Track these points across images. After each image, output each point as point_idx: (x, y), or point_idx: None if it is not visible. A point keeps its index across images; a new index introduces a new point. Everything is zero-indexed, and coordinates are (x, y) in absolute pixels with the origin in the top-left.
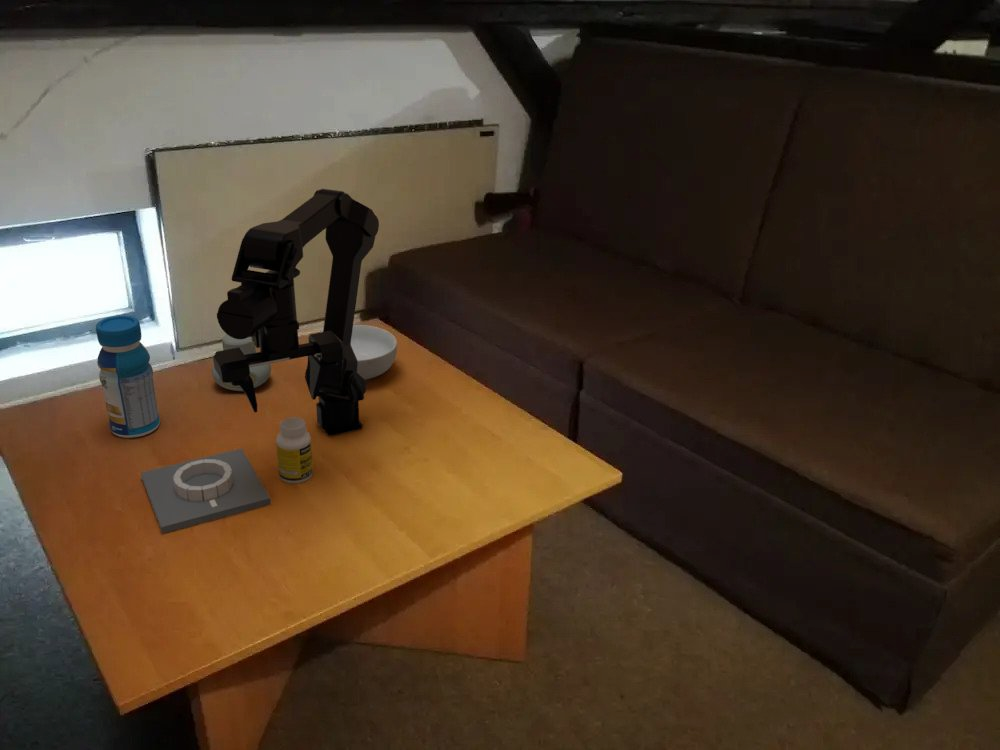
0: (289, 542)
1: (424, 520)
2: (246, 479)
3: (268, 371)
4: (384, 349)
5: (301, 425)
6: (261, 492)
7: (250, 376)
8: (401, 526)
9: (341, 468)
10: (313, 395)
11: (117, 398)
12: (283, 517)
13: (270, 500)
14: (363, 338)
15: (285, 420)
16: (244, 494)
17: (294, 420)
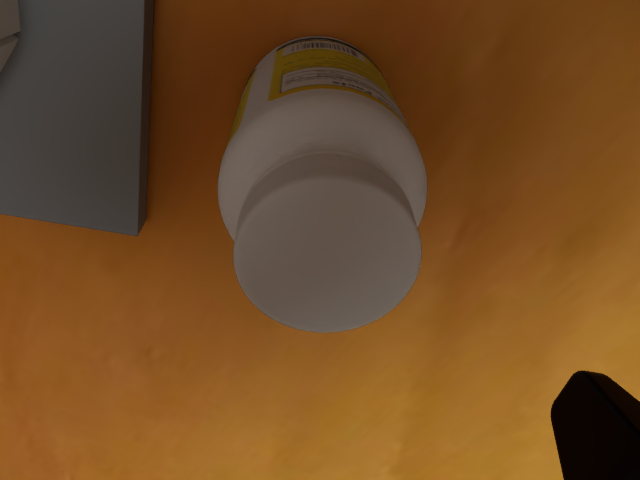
0: (131, 386)
1: (460, 474)
2: (84, 58)
3: None
4: None
5: (360, 314)
6: (118, 186)
7: None
8: (403, 465)
9: (486, 178)
10: (564, 476)
11: None
12: (158, 297)
13: (140, 229)
14: None
15: (305, 204)
16: (47, 160)
17: (362, 237)
